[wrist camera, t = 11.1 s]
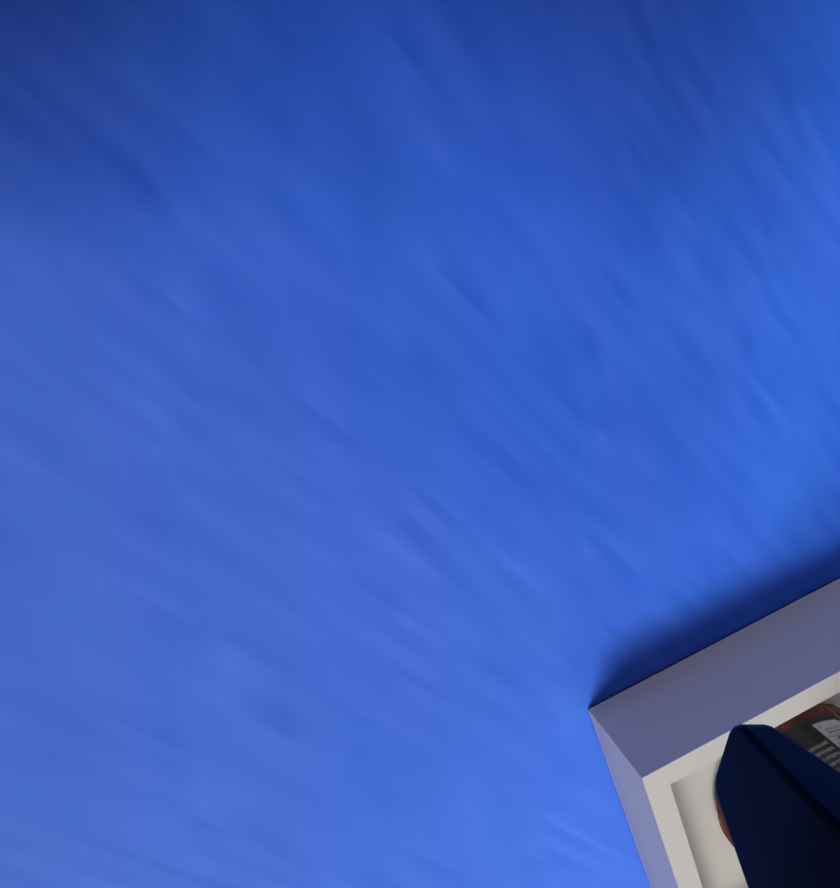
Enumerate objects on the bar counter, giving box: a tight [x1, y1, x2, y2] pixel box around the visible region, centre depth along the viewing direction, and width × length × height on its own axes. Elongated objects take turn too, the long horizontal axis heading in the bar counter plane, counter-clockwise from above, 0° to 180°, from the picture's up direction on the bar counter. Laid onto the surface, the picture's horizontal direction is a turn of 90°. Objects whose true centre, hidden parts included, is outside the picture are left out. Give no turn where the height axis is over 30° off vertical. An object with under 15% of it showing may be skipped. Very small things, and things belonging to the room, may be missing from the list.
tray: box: [588, 578, 840, 888], centre depth 25 cm, size 11×11×3 cm
